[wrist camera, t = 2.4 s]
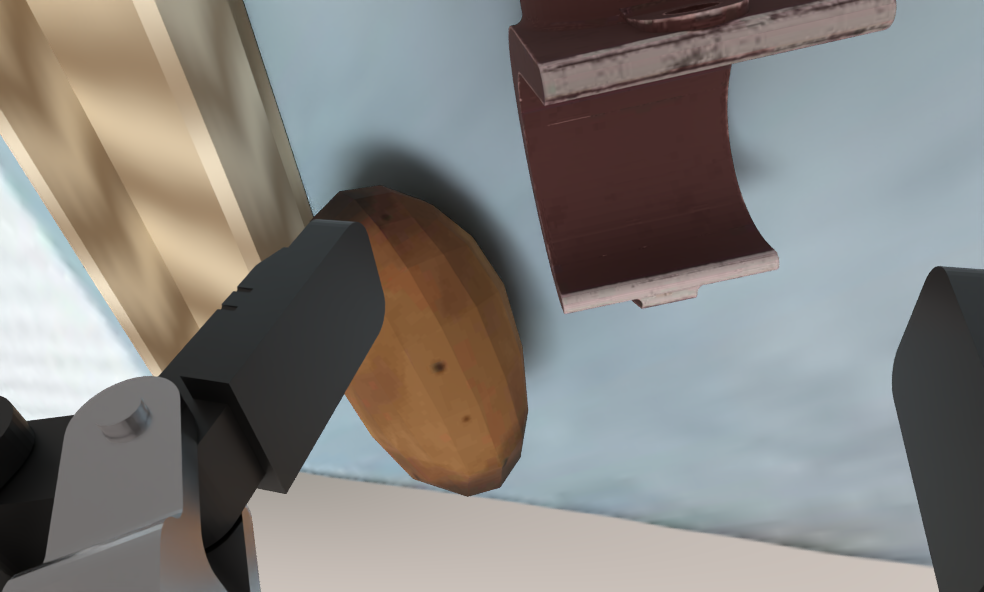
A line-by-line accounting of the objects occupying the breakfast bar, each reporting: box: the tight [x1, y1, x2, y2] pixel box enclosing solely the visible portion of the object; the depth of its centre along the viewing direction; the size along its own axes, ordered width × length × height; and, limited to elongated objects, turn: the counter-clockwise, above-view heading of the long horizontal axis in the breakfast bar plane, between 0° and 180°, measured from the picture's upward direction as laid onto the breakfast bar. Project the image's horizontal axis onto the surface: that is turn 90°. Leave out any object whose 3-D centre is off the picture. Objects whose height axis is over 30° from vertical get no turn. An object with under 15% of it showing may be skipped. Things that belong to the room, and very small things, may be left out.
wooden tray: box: [0, 0, 313, 377], centre depth 28 cm, size 21×10×4 cm, turn 6°
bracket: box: [509, 0, 896, 314], centre depth 16 cm, size 6×17×10 cm, turn 16°
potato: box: [310, 185, 528, 497], centre depth 27 cm, size 8×14×8 cm
